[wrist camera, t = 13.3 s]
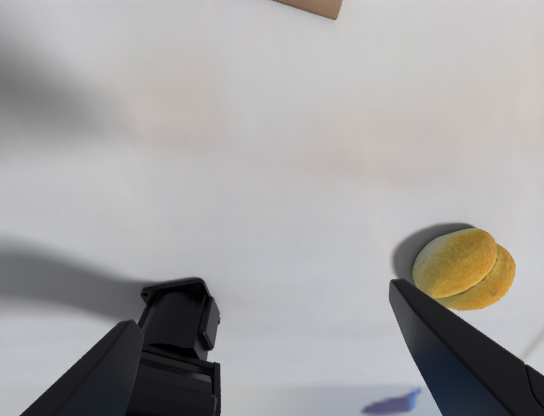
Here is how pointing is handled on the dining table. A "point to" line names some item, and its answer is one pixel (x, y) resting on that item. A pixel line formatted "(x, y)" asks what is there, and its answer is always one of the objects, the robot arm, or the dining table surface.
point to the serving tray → (317, 6)
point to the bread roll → (464, 270)
